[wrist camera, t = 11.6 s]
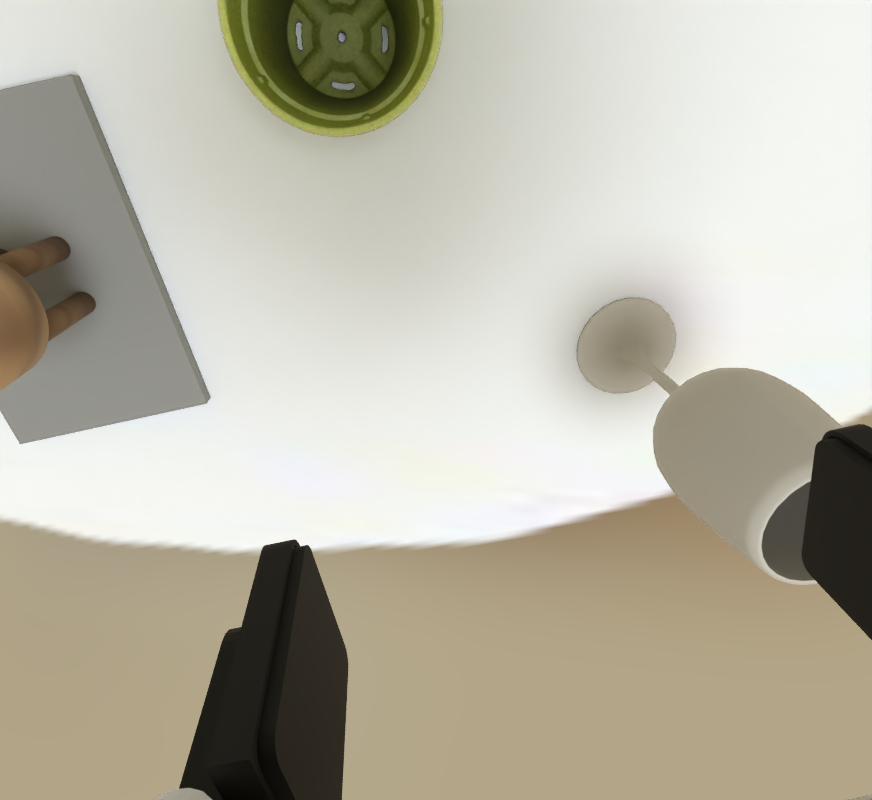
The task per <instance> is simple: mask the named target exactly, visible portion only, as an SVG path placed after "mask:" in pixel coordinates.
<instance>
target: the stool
mask: <svg viewBox="0 0 872 800" xmlns="http://www.w3.org/2000/svg"><path fill="white" fill-rule="evenodd" d="M70 252H71V250H70V246H69V244H68V243H67V242H66V241H65V240H64V239H63V238H61V237H57V236H52V237H49V238H46V239H44V240H41V241H38V242H35V243H32V244H30V245H27V246H24V247H21V248H18V249H16V250H13V251H10V252H8V251H6V250H4V249H0V391H1V390H2V389H4V388H5V387H7V386H8V385H9V384H11V383H12V382H14V381H15V380H16V379H18V378H19V377H20V376H22V375H23V374H25V373H26V372H27V371H29V370H30V369H31V368H33V367H34V366H35V365H36V364H37V363H38V361H39V360H40V359H41V358H42V356H43V354H44V352H45V350H46V347H47V344H48V341H50V340H51V339H53V338H54V337H56V336H57V335H59V334H60V333H62V332H63V331H65V330H66V329H68V328H69V327H71V326H72V325H74V324H75V323H76V322H78V321H79V320H81V319H82V318H84V317H85V316H87V315H88V314H90V313H91V312H93V311H94V310H95V308H96V302H95V300H94V298H93V297H92V296H91V295H90V294H88V293H86V292H77V293H75V294H73V295H71V296H70V297H68V298H66V299H64V300H63V301H61V302H59V303H57V304H56V305H54V306H52V307H50V308H49V309H47V310H45V309H44V307H43V304H42V302H41V300H40V299H39V297H38V295H37V293H36V292H35V291H34V289H33V288H32V287H31V285H30V284H29V283H28V282H27V281H26V280H25V279H24V277H27V276H29V275H31V274H33V273H36V272H38V271H40V270H42V269H44V268H47V267H49V266H51V265H53V264H56V263H58V262H60V261H62V260H65V259H67V258H68V257H69V255H70Z"/></svg>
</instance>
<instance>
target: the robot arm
mask: <svg viewBox="0 0 872 800" xmlns="http://www.w3.org/2000/svg"><path fill="white" fill-rule="evenodd" d="M802 561H803V564H804V566H805V568H806V570H807V572H808V573H809V574H810V575H811V576H812V577H813V578H814V580H815V581H816V582H817V583H818V584H819V585H820V586H821V587H822V588H823V589H824V590H825V591H826V592H827V593H828V594H829V595H830V596H831V597H832V598H833V600H835V602H837V604H838V605H839V606H840V607H841V608H842V609H843V610H844V611H845V612H846V613H847V614H848V615H849V616H850V618H851V619H852V620H853V621H854V622H855V623H856V624H857V625H858V626H859V627H860V628H861V629H862V630H863V631H864V632H865V633H866V634H867V635H868V637H869V638H870V639H871V640H872V428H871V427H869V426H866V425H861V424H858V425H854V426H849V427H844V428H839V429H834V430H830V431H828V432H826V433H825V434H824V436H823V438H822V440H821V441H819V442H818V443H817V444H816V447H815V452H814V460H813V468H812V475H811V483H810V491H809V498H808V506H807V514H806V522H805V529H804V537H803V545H802ZM347 682H348V658H347V652H346V648H345V645H344V642H343V639H342V636H341V633H340V630H339V628H338V625H337V622H336V619H335V616H334V613H333V611H332V608H331V605H330V602H329V599H328V596H327V594H326V591H325V588H324V585H323V582H322V579H321V577H320V574H319V571H318V568H317V565H316V563H315V560H314V557H313V554H312V551H311V549H310V547H309V546H308V545H306V546H301V547H300V545H299V543H298V542H297V540H289V541H284V542H280V543H275V544H270V545H265V546H264V547H263V549H262V551H261V555H260V559H259V563H258V567H257V570H256V574H255V578H254V581H253V585H252V589H251V593H250V597H249V601H248V604H247V608H246V612H245V616H244V620H243V623H242V627H240V628H235V629H230V630H229V631H228V632H227V633H226V634H225V636H224V639H223V641H222V644H221V647H220V651H219V654H218V658H217V661H216V664H215V668H214V671H213V675H212V678H211V681H210V685H209V688H208V692H207V695H206V698H205V702H204V705H203V709H202V713H201V716H200V719H199V723H198V726H197V729H196V733H195V736H194V740H193V743H192V746H191V750H190V753H189V757H188V760H187V764H186V767H185V770H184V774H183V777H182V781H181V784H180V787H179V789H175V790H171V791H169V792H167V793H164V794H162V795H159V796H157V797H155V798H154V799H153V800H342V783H343V782H342V781H343V763H344V762H343V761H344V741H345V722H346V702H347ZM849 800H872V795H868V796H864V797H859V798H854V799H849Z"/></svg>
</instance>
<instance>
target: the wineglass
mask: <svg viewBox="0 0 872 800" xmlns="http://www.w3.org/2000/svg"><path fill="white" fill-rule="evenodd" d="M675 342H676V332H675V328H674V323H673V322H672V320H671V318H670V316H669V314H668V313H667V312H666V311H665V310H664V309H663V308H662V307H661V306H659V305H657V304H656V303H654V302H652V301H650V300H646V299H641V298H625V299H622V300H618V301H615V302H612V303H610V304H609V305H607V306H605V307H603V308H602V309H600V310H599V311H598V312H597V313H596V314H594V315H593V316H592V317H591V319H590V320H589V321H588V323H587V324H586V325H585V327H584V329H583V331H582V333H581V335H580V337H579V341H578V346H577V361H578V364H579V368H580V370H581V372H582V374H583V375H584V377H585V378H586V379H587V381H589V382H590V383H591V384H592V385H593V386H594V387H596V388H598V389H601V390H603V391H605V392H611V393H627V392H631V391H635V390H638V389H640V388H642V387H644V386H646V385H648V384H649V383H651V382H652V381H653V380H655V381H656V382H657V383H658V384H659V385H660V386H661V387H662V388H663V389H665V390H666V391H667V392H668V393H669V394H670V396H669V398H668V399H667V400H666V401H665V402H664V404H663V406H662V408H661V409H660V411H659V413H658V415H657V418H656V421H655V425H654V428H653V446H654V454H655V458H656V462H657V466H658V468H659V469H660V471H661V473H662V475H663V477H664V478H665V480H666V481H667V483H668V484H669V486H670V488H671V489H672V490H673V492H674V493H675V494H676V496H677V497H678V498H679V499H680V501H681V502H682V503H683V504H684V505H686V506H687V507H688V508H689V509H690V510H691V511H692V512H693V513H694V514H695V515H696V516H697V517H698V518H699V519H700V520H702V521H703V522H704V523H705V524H706V525H707V526H708V527H709V528H711V529H712V530H713V531H714V532H715V533H716V534H717V535H719V536H720V537H721V538H722V539H723V540H725V541H726V542H727V543H728V544H730V545H731V546H732V547H733V548H734V549H736V550H737V551H738V552H739V553H741V554H742V555H743V556H744V557H746V558H747V559H749V560H750V561H751V562H752V563H754V564H755V565H756V566H758V567H759V568H760V569H761V570H763V571H764V572H766V573H767V574H769V575H770V576H772V577H773V578H775V579H778V580H780V581H783V582H785V583H789V584H798V585H806V584H818V583H817V582H816V581H815V580H814V578H813V577H812V576H811V575H810V574H809V573H808V572H807V570H806V568H805V566H804V564H803V561H802V545H803V537H804V529H805V522H806V514H807V506H808V498H809V491H810V483H811V475H812V468H813V460H814V452H815V447H816V444H817V443H818V442H819V441H821V440H822V438H823V436H824V434H825V433H826V432H828V431H830V430H834V429H839V428H843V427H842V426H841V425H840V424H839V423H838V422H836V421H835V420H834V419H833V418H832V417H831V416H830V415H829V414H828V413H826V412H825V411H824V410H823V409H822V408H821V407H820V406H819V405H817V404H816V403H815V402H814V401H813V400H811V399H810V398H809V397H808V396H807V395H805V394H804V393H802V392H801V391H799V390H798V389H796V388H794V387H793V386H791V385H789V384H788V383H786V382H784V381H782V380H780V379H778V378H776V377H774V376H771V375H769V374H767V373H765V372H762V371H757V370H752V369H747V368H719V369H714V370H711V371H707V372H703V373H701V374H699V375H697V376H695V377H693V378H691V379H689V380H687V381H686V382H685V383H684V384H682V385H681V386H680V387H679V386H678V385H677V384H676V383H675V382H674V381H673V380H671V379H670V378H669V377H668V376H667V375H666V374H665V373H663V370H664V369H665V368H666V367H667V365H668V363H669V361H670V359H671V358H672V355H673V352H674V348H675Z"/></svg>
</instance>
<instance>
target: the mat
mask: <svg viewBox="0 0 872 800" xmlns="http://www.w3.org/2000/svg"><path fill="white" fill-rule="evenodd" d="M52 236H57V237H61V238H63V239H64V240H65V241H66V242H67V243H68V244H69V246H70V250H71V252H70V255H69V257H68V258H67V259H65V260H62V261H60V262H58V263H56V264H53V265H51V266H49V267H47V268H44V269H42V270H40V271H38V272H36V273H33V274H31V275H29V276H27V277H24V279H25V280H26V281H27V282H28V283H29V284H30V285H31V287H32V288H33V289H34V291H35V292H36V293H37V295H38V297H39V299H40V300H41V302H42V304H43V307H44V309H45V310H47V309H49V308H50V307H52V306H54V305H56V304H57V303H59V302H61V301H63V300H64V299H66V298H68V297H70V296H71V295H73V294H75V293H77V292H86V293H88V294H90V295H91V296H92V297H93V298H94V300H95V302H96V308H95V310H94V311H93V312H91V313H90V314H88V315H87V316H85V317H84V318H82V319H81V320H79V321H78V322H76V323H75V324H74V325H72V326H71V327H69V328H68V329H66V330H65V331H63V332H62V333H60V334H59V335H57V336H56V337H54V338H53V339H51V340H50V341H48V344H47V347H46V350H45V352H44V354H43V356H42V358H41V359H40V360H39V361H38V363H37V364H36V365H35V366H34V367H33V368H31V369H30V370H29V371H27V372H26V373H25V374H23V375H22V376H20V377H19V378H18V379H16V380H15V381H14V382H12V383H11V384H9V385H8V386H7V387H5V388H4V389H2V390H1V391H0V411H1V413H2V414H3V416H4V418H5V419H6V421H7V423H8V424H9V426H10V428H11V430H12V431H13V433H14V435H15V436H16V438H17V440H18V441H19V443H20V444H23V443H28V442H32V441H37V440H42V439H46V438H51V437H55V436H60V435H65V434H69V433H74V432H78V431H83V430H87V429H92V428H97V427H101V426H106V425H110V424H115V423H119V422H124V421H129V420H133V419H138V418H142V417H147V416H152V415H156V414H161V413H165V412H170V411H174V410H179V409H184V408H188V407H193V406H197V405H202V404H207V402H208V400H209V399H210V395H209V393H208V391H207V388H206V386H205V383H204V381H203V378H202V376H201V373H200V371H199V368H198V366H197V364H196V361H195V359H194V356H193V354H192V351H191V349H190V346H189V344H188V342H187V339H186V337H185V334H184V332H183V329H182V327H181V324H180V322H179V319H178V317H177V315H176V312H175V310H174V307H173V305H172V302H171V300H170V297H169V295H168V292H167V290H166V288H165V285H164V283H163V280H162V278H161V275H160V273H159V270H158V268H157V266H156V263H155V261H154V258H153V256H152V253H151V251H150V248H149V246H148V243H147V241H146V239H145V236H144V234H143V231H142V229H141V226H140V224H139V221H138V219H137V216H136V214H135V212H134V209H133V207H132V204H131V202H130V199H129V197H128V194H127V192H126V190H125V187H124V185H123V182H122V180H121V177H120V175H119V172H118V170H117V167H116V165H115V163H114V160H113V158H112V155H111V153H110V150H109V148H108V145H107V143H106V141H105V138H104V136H103V133H102V131H101V128H100V126H99V123H98V121H97V118H96V116H95V114H94V111H93V109H92V106H91V104H90V101H89V99H88V96H87V94H86V91H85V89H84V87H83V84H82V82H81V79H80V77H79V76H76V75H67V76H63V77H58V78H53V79H49V80H44V81H40V82H35V83H30V84H26V85H21V86H17V87H12V88H7V89H3V90H0V249H4V250H6V251H8V252H10V251H13V250H16V249H18V248H21V247H24V246H27V245H30V244H32V243H35V242H38V241H41V240H44V239H46V238H49V237H52Z"/></svg>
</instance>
